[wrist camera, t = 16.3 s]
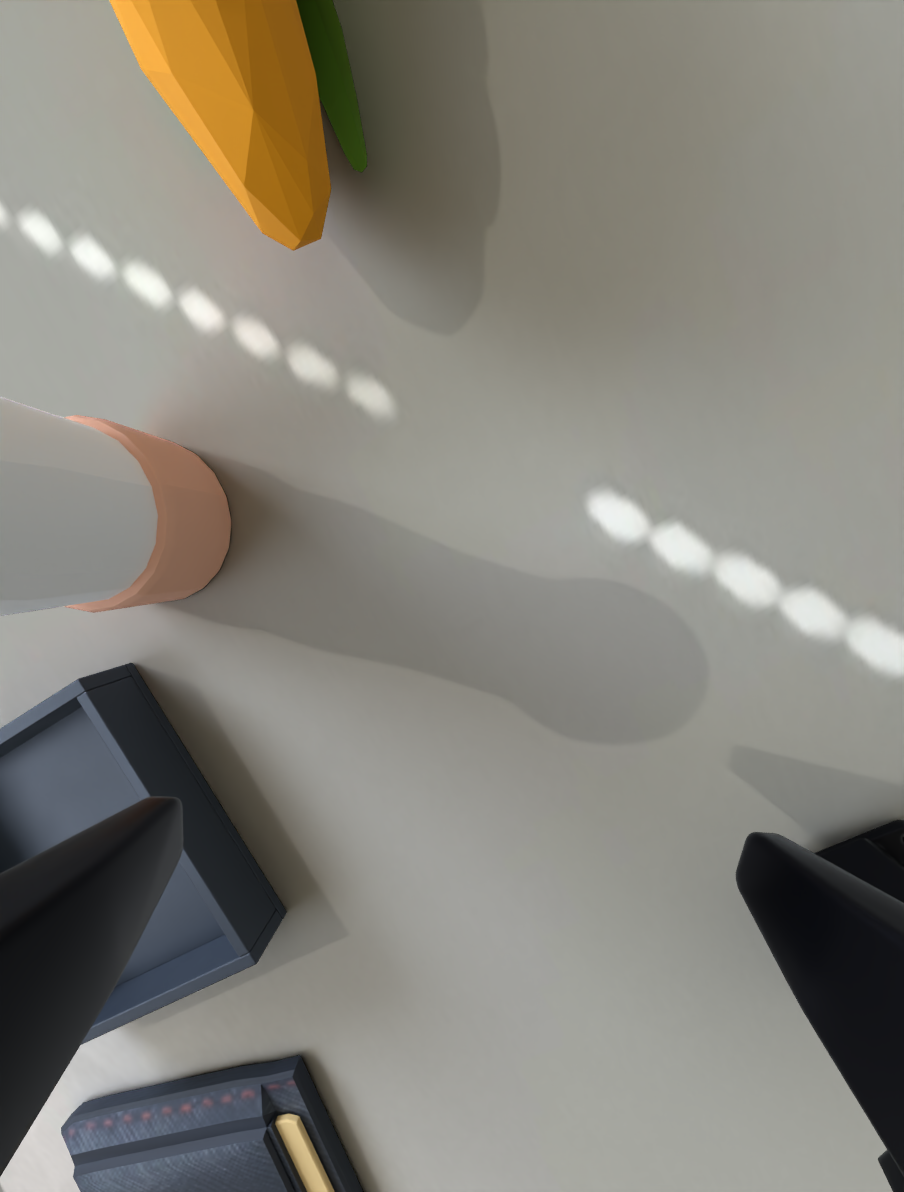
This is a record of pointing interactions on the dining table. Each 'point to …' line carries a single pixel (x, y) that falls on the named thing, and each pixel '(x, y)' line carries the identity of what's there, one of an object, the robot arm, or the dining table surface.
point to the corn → (255, 97)
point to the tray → (107, 786)
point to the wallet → (212, 1136)
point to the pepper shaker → (102, 515)
